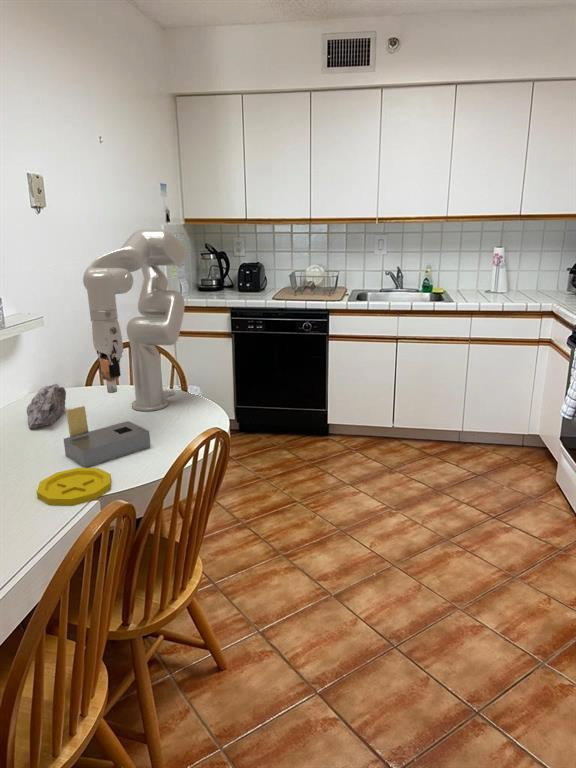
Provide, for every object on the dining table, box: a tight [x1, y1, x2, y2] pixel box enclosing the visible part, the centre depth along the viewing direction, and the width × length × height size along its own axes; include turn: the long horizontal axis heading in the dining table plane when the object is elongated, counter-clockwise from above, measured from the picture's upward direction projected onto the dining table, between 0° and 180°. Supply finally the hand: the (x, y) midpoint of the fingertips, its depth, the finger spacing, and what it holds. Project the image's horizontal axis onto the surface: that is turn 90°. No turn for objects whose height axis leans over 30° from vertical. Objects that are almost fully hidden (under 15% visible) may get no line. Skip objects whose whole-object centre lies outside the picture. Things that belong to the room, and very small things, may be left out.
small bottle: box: [99, 355, 120, 394], centre depth 171 cm, size 5×5×10 cm
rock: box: [26, 383, 67, 430], centre depth 187 cm, size 22×10×15 cm, turn 4°
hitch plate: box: [63, 420, 151, 468], centre depth 162 cm, size 20×12×5 cm, turn 134°
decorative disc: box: [36, 467, 112, 506], centre depth 141 cm, size 17×18×2 cm
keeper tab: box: [65, 405, 90, 437], centre depth 159 cm, size 8×5×1 cm
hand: (110, 374), depth 171 cm, fingers closed on small bottle, 5 cm apart
